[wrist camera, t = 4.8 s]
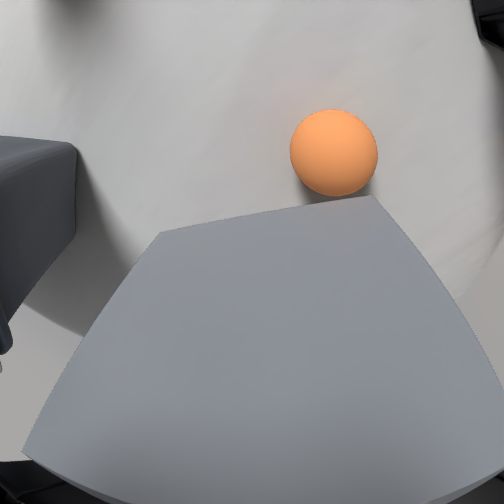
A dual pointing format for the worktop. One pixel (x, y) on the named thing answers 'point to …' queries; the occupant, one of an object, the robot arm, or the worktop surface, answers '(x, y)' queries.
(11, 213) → the storage bin
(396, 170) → the worktop surface
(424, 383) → the matte grey cube
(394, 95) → the worktop surface
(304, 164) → the ball
